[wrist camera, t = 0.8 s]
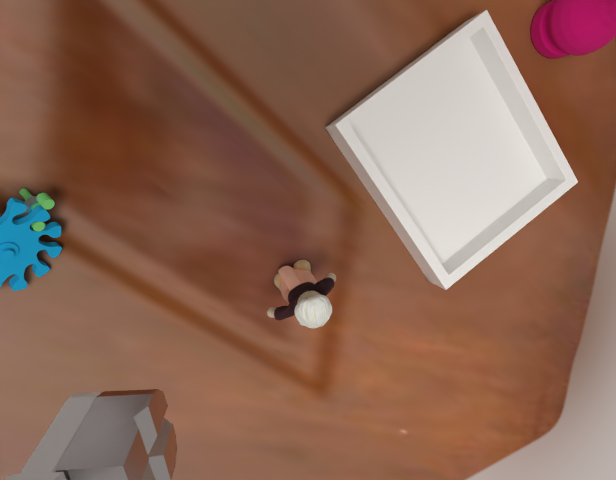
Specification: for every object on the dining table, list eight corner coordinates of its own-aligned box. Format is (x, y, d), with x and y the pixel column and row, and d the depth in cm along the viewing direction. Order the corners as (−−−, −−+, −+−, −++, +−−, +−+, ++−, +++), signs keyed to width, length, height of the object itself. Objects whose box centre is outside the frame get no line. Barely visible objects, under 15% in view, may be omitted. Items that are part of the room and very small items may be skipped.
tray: (324, 127, 50) (335, 124, 46) (465, 21, 52) (486, 9, 48) (429, 281, 56) (445, 289, 52) (552, 181, 58) (578, 182, 54)
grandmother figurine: (305, 244, 52) (337, 268, 40) (325, 269, 53) (363, 300, 41) (252, 289, 51) (268, 328, 39) (274, 314, 52) (296, 359, 40)
